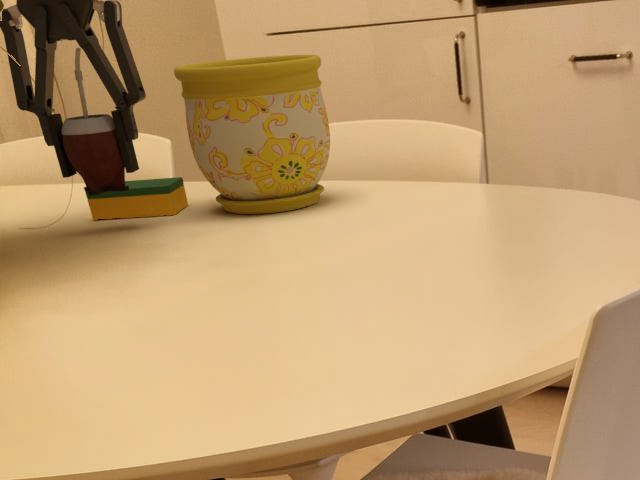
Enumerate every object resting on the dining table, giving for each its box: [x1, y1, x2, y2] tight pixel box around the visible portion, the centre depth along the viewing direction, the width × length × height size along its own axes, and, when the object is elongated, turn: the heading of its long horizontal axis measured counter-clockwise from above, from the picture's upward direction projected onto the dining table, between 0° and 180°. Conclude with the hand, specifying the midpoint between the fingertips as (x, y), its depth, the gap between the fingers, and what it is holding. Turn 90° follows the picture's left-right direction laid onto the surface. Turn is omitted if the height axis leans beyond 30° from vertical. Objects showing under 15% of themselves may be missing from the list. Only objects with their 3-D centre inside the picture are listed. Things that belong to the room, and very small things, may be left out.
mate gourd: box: [61, 47, 129, 196], centre depth 111 cm, size 8×8×15 cm
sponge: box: [84, 176, 189, 221], centre depth 126 cm, size 11×7×4 cm, turn 90°
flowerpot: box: [173, 54, 331, 215], centre depth 121 cm, size 18×18×16 cm
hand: (101, 173), depth 115 cm, fingers closed on mate gourd, 7 cm apart
